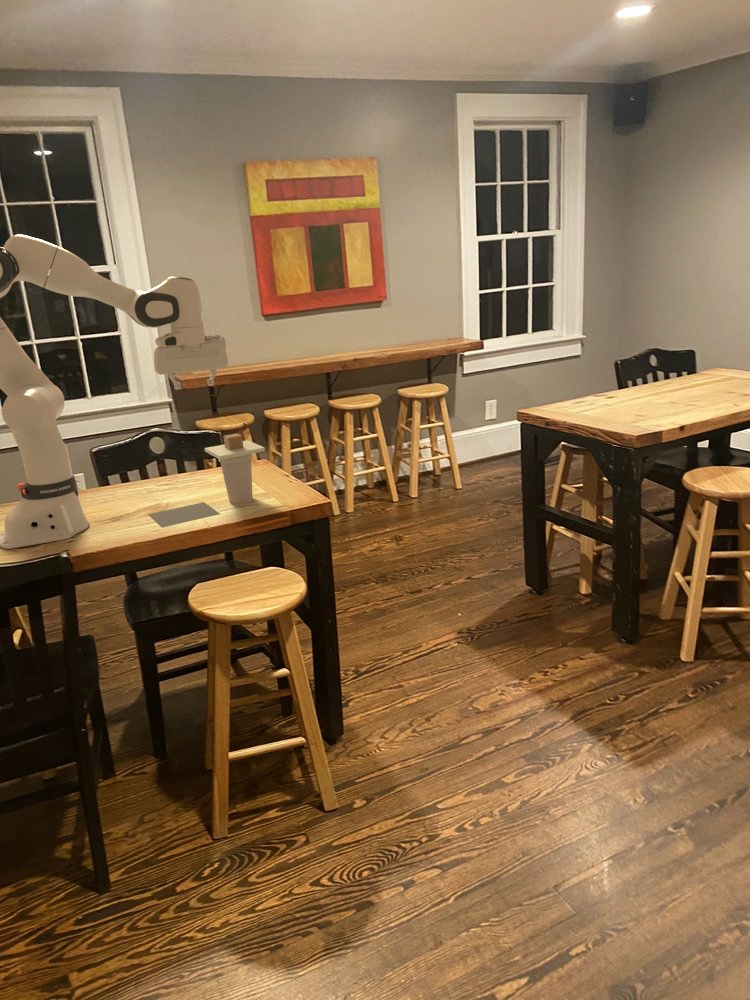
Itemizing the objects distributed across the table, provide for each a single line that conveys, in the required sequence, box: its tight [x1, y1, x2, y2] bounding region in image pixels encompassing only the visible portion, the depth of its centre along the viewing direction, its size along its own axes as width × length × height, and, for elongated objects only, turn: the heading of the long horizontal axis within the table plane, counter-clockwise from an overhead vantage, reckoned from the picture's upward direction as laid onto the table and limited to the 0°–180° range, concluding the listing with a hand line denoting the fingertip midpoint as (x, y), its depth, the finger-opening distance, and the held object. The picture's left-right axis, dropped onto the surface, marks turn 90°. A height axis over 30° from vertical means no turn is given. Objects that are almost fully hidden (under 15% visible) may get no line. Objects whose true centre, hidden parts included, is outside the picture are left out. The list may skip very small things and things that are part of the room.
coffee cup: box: [217, 454, 254, 505], centre depth 205 cm, size 10×10×15 cm
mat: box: [148, 501, 221, 528], centre depth 198 cm, size 16×14×1 cm
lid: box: [204, 432, 266, 460], centre depth 202 cm, size 13×13×4 cm
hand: (194, 387), depth 205 cm, fingers open, 8 cm apart
